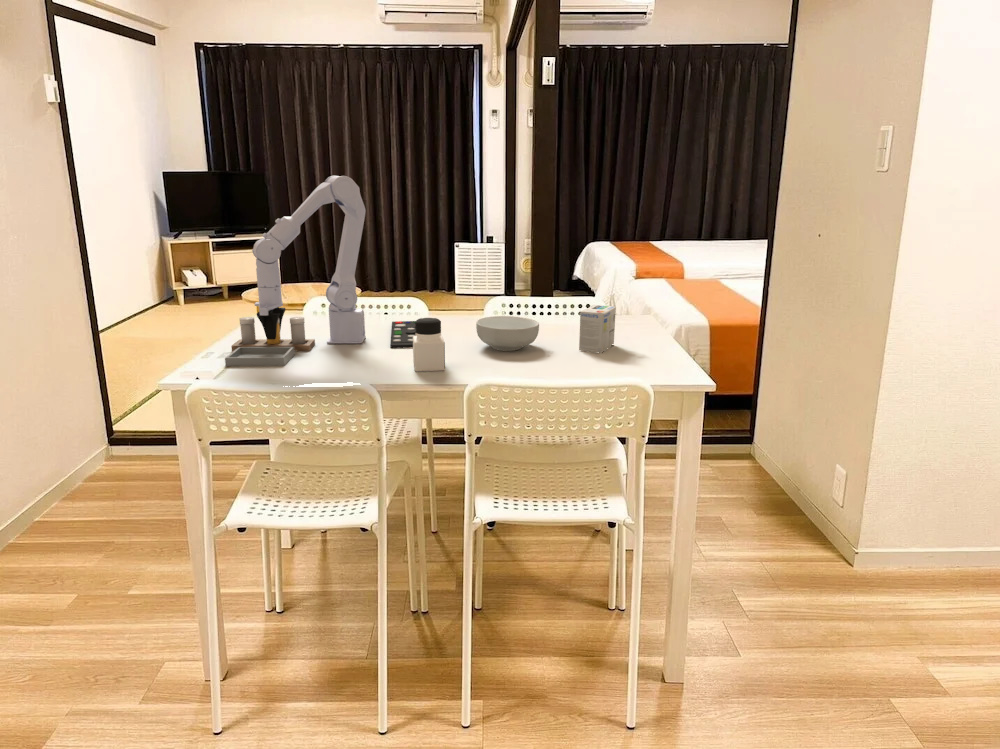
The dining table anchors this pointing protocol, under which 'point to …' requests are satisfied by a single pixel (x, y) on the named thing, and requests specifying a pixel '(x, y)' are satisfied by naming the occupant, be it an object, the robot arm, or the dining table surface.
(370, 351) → the dining table surface
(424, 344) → the medicine bottle
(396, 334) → the remote control
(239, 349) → the tray
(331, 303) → the robot arm
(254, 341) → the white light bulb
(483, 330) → the cereal bowl
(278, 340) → the amber fuse
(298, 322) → the cylinder
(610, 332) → the light bulb box
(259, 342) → the brown wooden rack
